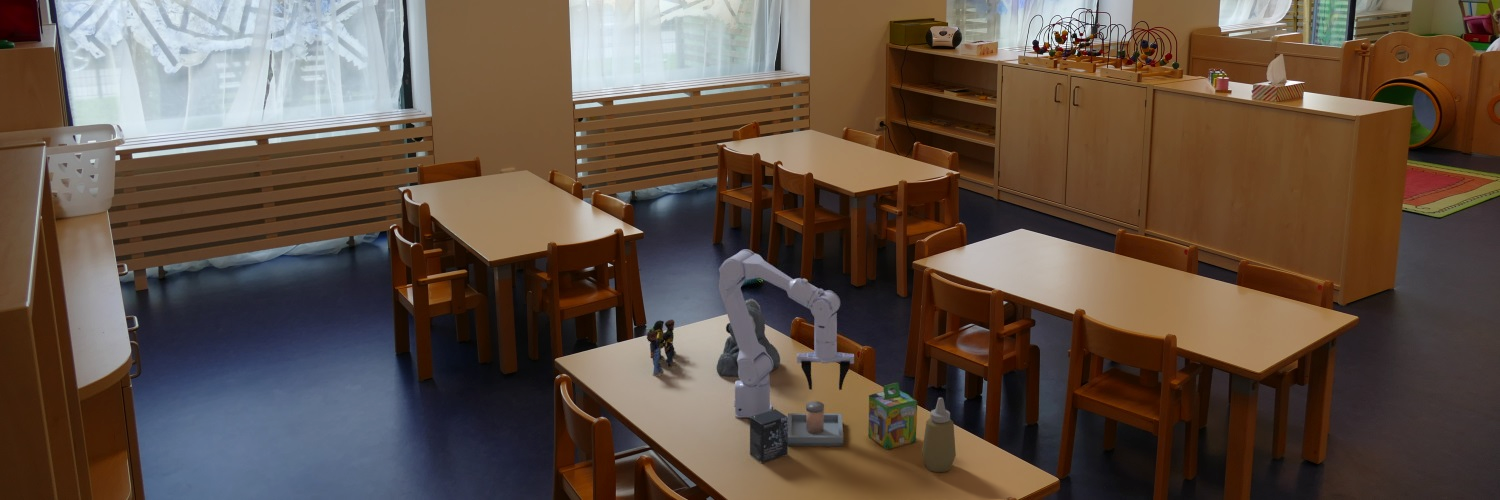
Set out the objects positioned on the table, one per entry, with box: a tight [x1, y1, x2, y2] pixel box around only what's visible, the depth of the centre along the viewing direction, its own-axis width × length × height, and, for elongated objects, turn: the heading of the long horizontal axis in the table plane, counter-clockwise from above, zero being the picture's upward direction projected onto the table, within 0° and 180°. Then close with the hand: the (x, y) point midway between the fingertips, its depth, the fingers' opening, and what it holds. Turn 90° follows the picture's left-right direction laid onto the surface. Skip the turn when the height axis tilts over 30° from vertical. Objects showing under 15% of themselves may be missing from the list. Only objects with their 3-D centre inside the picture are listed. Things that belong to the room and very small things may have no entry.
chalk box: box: [867, 382, 918, 450], centre depth 295 cm, size 9×9×15 cm
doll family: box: [645, 319, 678, 377], centre depth 345 cm, size 23×9×13 cm, turn 6°
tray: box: [787, 412, 844, 447], centre depth 301 cm, size 14×14×2 cm
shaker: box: [805, 400, 825, 434], centre depth 300 cm, size 5×5×7 cm
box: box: [749, 408, 789, 464], centre depth 288 cm, size 8×6×11 cm
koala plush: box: [716, 298, 781, 377], centre depth 341 cm, size 17×18×20 cm
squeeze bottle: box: [921, 397, 957, 473], centre depth 280 cm, size 8×8×18 cm
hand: (825, 388), depth 303 cm, fingers open, 7 cm apart
